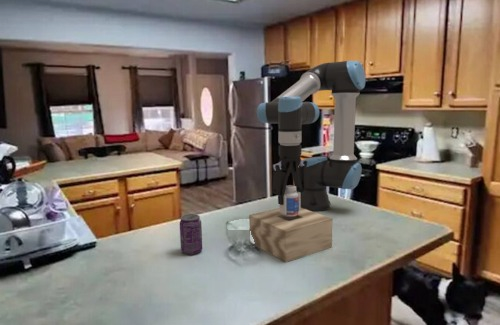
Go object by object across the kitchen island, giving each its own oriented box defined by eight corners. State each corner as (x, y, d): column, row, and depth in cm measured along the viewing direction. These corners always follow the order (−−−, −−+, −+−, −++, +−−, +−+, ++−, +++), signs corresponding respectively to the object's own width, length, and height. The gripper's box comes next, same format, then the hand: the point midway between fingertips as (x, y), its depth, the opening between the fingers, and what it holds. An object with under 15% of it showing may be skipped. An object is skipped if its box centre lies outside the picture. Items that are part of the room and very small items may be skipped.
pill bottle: (297, 217, 119) (297, 188, 118) (281, 216, 121) (281, 188, 119) (299, 212, 125) (298, 184, 123) (283, 211, 126) (283, 184, 124)
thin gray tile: (278, 222, 124) (278, 219, 124) (291, 219, 127) (291, 215, 127) (289, 226, 119) (289, 223, 119) (302, 223, 122) (302, 220, 122)
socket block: (249, 242, 127) (249, 214, 126) (293, 230, 138) (293, 204, 136) (286, 262, 111) (286, 231, 109) (331, 246, 122) (332, 218, 120)
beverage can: (194, 245, 125) (192, 212, 123) (206, 251, 120) (205, 216, 118) (176, 251, 120) (174, 217, 118) (189, 257, 115) (187, 222, 113)
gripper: (274, 147, 110) (275, 220, 114) (318, 142, 121) (317, 209, 125) (260, 145, 117) (261, 214, 121) (303, 140, 127) (302, 204, 131)
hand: (290, 211), depth 123 cm, fingers open, 5 cm apart
